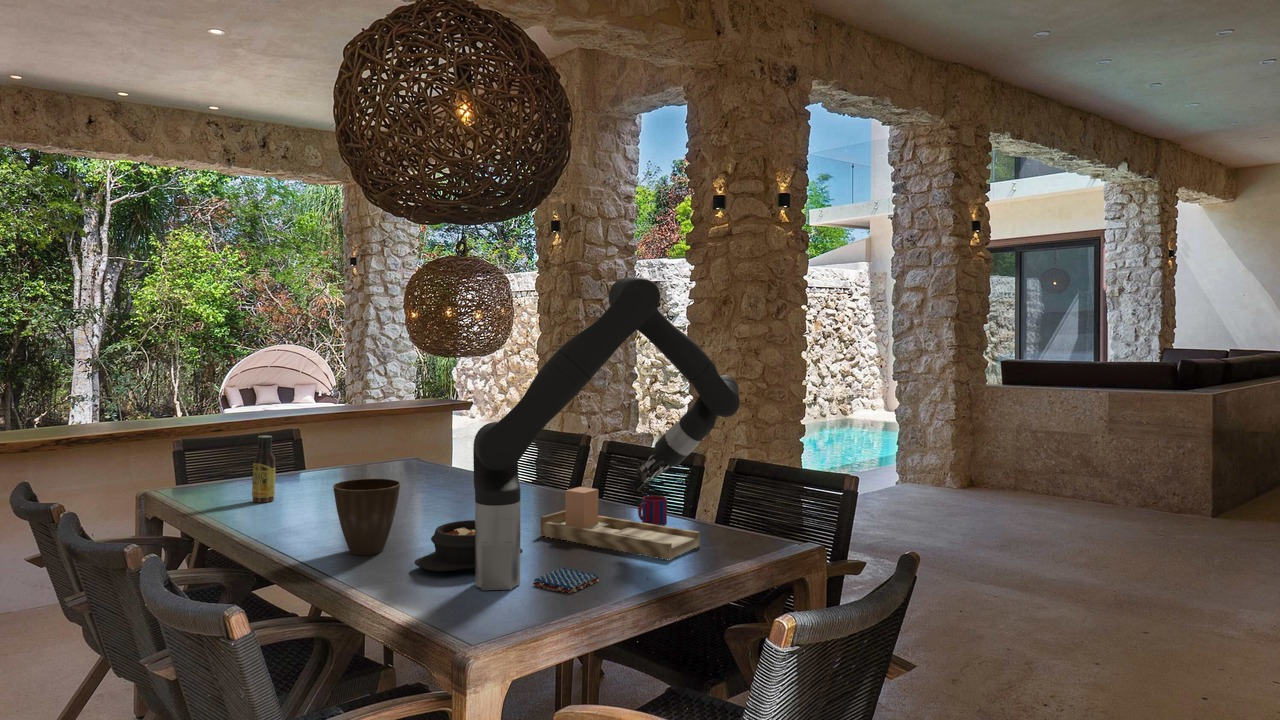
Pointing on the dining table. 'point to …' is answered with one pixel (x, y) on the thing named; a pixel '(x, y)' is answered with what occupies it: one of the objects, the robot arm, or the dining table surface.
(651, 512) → the mug
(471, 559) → the casserole
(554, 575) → the woven mat
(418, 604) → the dining table surface
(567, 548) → the dining table surface
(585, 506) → the terracotta block
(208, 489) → the dining table surface
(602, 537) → the tray
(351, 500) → the plant pot
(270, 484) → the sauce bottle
